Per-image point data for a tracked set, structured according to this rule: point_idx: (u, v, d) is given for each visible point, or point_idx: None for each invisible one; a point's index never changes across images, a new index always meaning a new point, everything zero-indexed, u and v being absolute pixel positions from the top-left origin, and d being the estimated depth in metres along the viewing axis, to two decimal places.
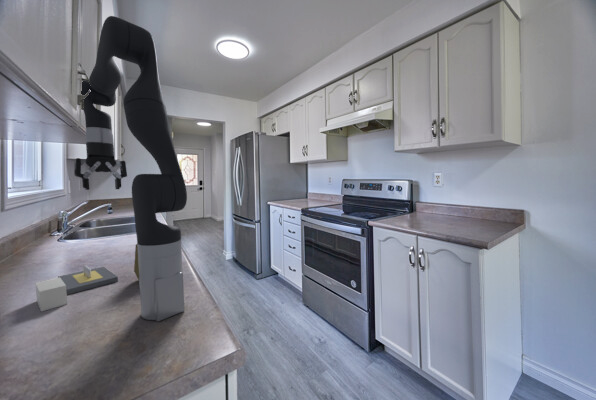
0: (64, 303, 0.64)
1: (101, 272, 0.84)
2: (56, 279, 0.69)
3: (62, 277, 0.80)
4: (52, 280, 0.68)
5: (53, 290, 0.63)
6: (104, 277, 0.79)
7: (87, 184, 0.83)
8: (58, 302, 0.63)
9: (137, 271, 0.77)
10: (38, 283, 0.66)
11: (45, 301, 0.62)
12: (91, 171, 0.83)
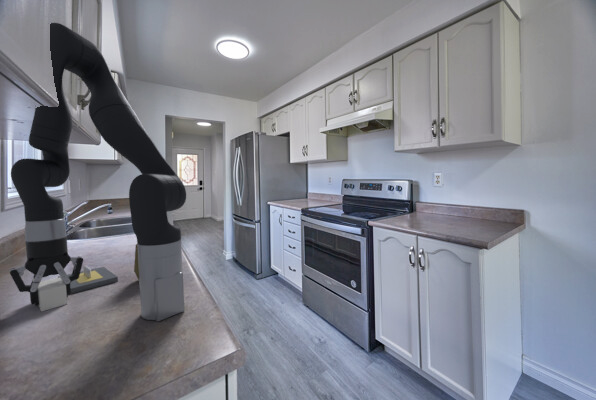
0: (64, 303, 0.64)
1: (101, 272, 0.84)
2: (56, 279, 0.69)
3: None
4: (52, 280, 0.68)
5: (53, 290, 0.63)
6: (104, 277, 0.79)
7: (36, 299, 0.63)
8: (58, 302, 0.63)
9: (137, 271, 0.77)
10: None
11: (45, 301, 0.62)
12: (38, 280, 0.63)
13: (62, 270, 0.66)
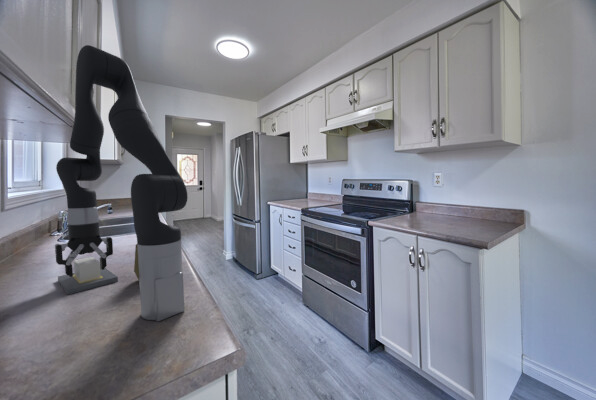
0: (98, 276, 0.79)
1: (101, 272, 0.84)
2: (90, 258, 0.83)
3: (62, 277, 0.80)
4: (87, 258, 0.82)
5: (90, 265, 0.77)
6: (104, 277, 0.79)
7: (70, 271, 0.76)
8: (93, 275, 0.78)
9: (137, 271, 0.77)
10: (76, 260, 0.80)
11: (84, 274, 0.76)
12: (74, 256, 0.76)
13: (97, 248, 0.80)
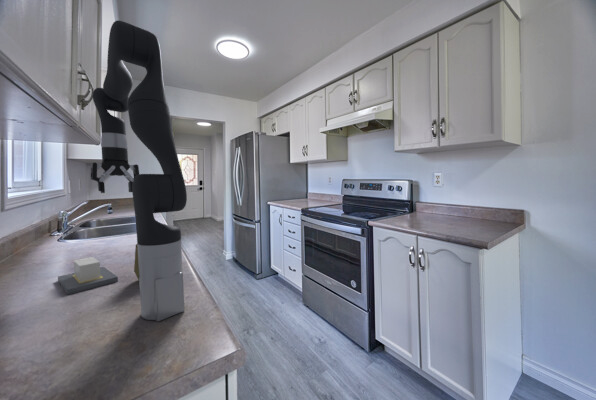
0: (98, 276, 0.79)
1: (101, 272, 0.84)
2: (90, 258, 0.83)
3: (62, 277, 0.80)
4: (87, 258, 0.82)
5: (90, 265, 0.77)
6: (104, 277, 0.79)
7: (103, 187, 0.86)
8: (93, 275, 0.78)
9: (137, 271, 0.77)
10: (76, 260, 0.80)
11: (84, 274, 0.76)
12: (106, 175, 0.87)
13: (126, 171, 0.91)
